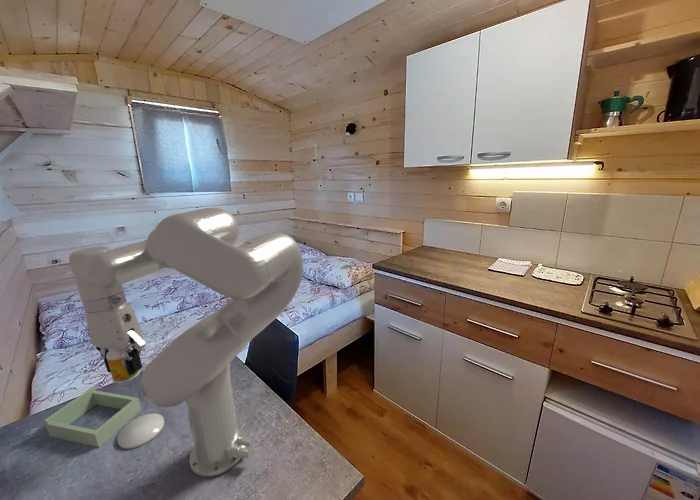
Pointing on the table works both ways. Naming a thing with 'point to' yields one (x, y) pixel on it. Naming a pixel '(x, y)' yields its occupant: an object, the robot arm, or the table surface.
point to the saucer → (140, 431)
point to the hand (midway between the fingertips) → (125, 369)
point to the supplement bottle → (119, 366)
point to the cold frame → (80, 405)
